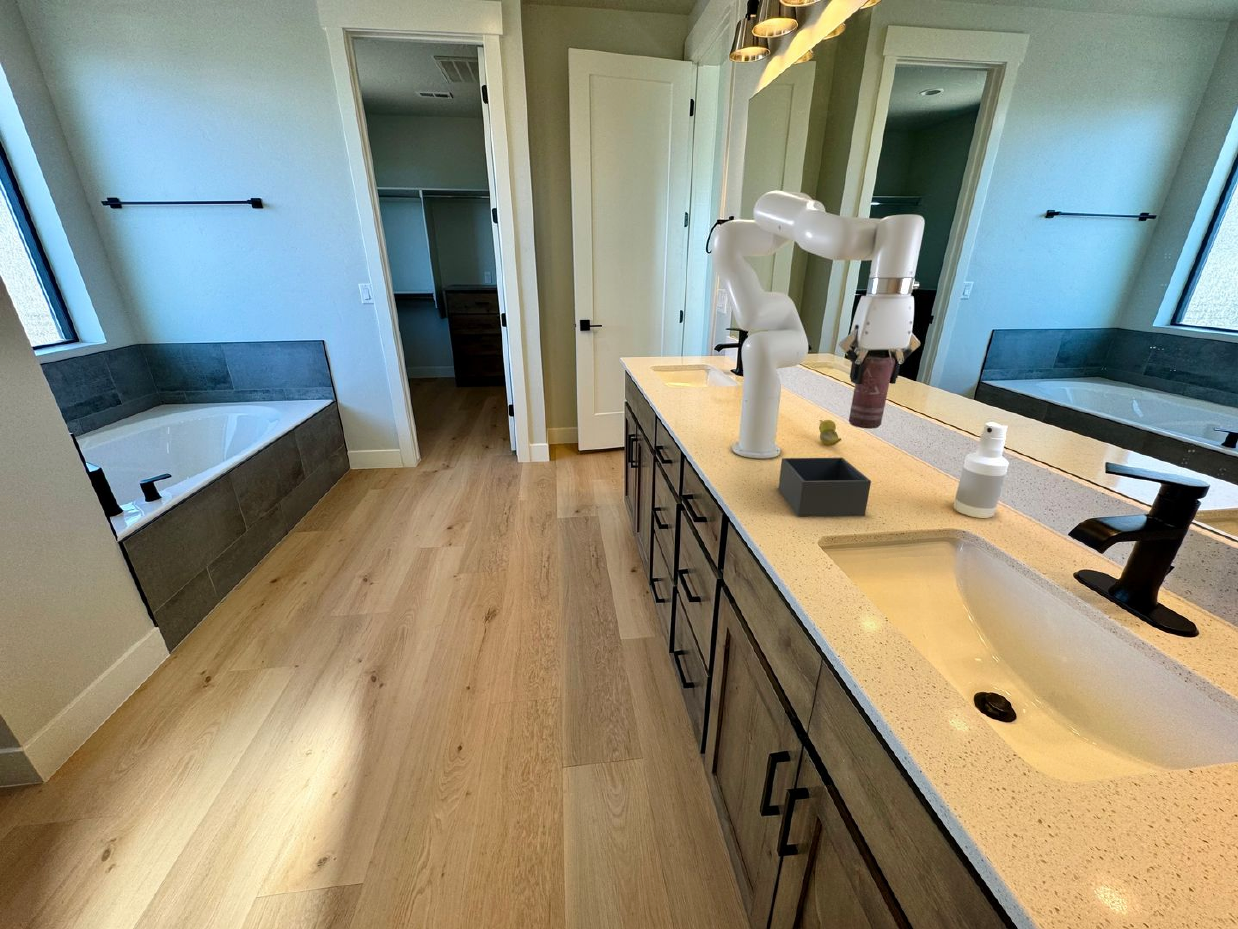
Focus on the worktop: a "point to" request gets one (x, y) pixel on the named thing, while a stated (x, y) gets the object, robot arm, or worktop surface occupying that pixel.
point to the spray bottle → (983, 474)
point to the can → (871, 392)
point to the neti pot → (828, 432)
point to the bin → (823, 487)
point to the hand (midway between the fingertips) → (872, 381)
